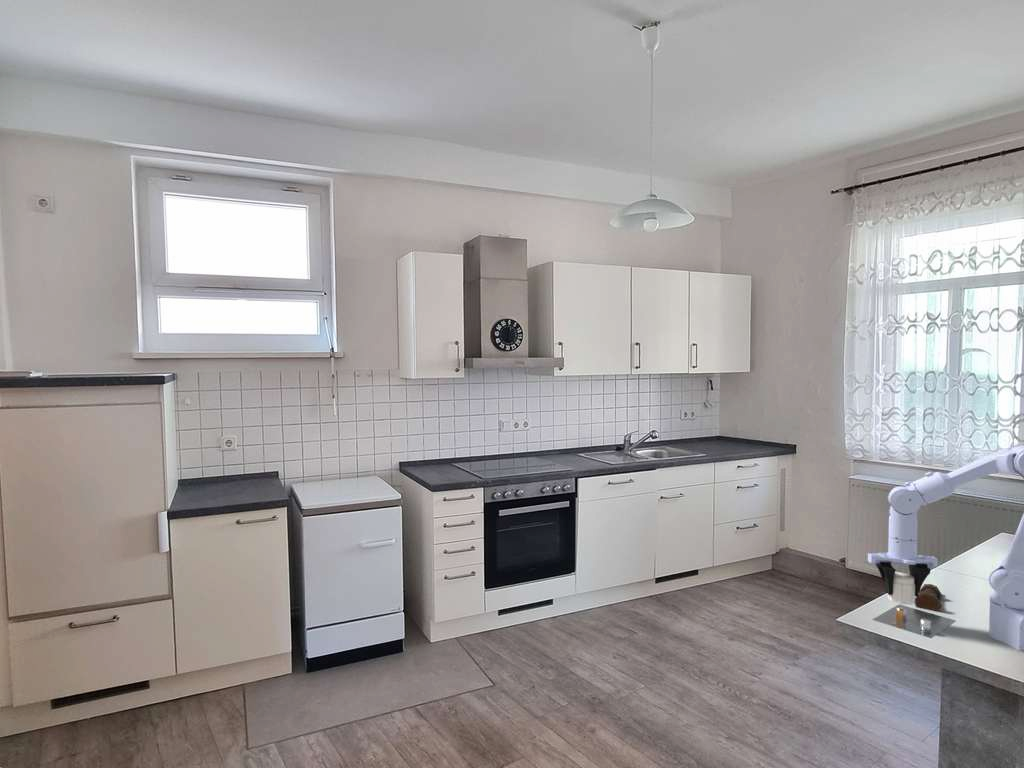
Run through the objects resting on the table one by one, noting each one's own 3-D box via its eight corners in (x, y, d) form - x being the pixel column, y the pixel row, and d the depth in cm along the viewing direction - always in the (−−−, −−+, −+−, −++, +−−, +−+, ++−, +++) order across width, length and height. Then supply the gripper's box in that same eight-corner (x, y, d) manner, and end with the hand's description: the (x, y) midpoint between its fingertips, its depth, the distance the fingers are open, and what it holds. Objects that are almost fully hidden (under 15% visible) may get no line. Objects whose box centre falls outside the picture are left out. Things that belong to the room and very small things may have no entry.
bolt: (934, 604, 157) (930, 620, 145) (915, 590, 159) (909, 605, 148) (948, 588, 155) (945, 602, 143) (928, 574, 158) (923, 588, 146)
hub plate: (899, 608, 149) (899, 594, 149) (955, 624, 139) (956, 610, 139) (871, 623, 139) (872, 609, 139) (930, 642, 129) (931, 626, 129)
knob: (893, 595, 143) (894, 570, 143) (917, 601, 139) (917, 576, 139) (885, 599, 140) (885, 574, 140) (909, 606, 136) (909, 580, 136)
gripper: (877, 540, 136) (876, 598, 136) (945, 544, 134) (944, 602, 134) (864, 532, 143) (863, 587, 143) (928, 535, 141) (927, 591, 141)
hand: (901, 594), depth 139 cm, fingers closed on knob, 5 cm apart
